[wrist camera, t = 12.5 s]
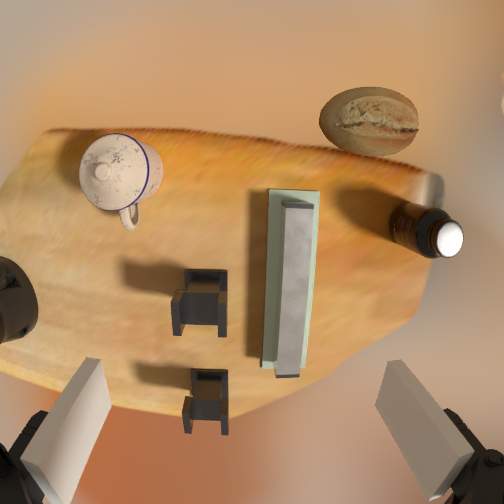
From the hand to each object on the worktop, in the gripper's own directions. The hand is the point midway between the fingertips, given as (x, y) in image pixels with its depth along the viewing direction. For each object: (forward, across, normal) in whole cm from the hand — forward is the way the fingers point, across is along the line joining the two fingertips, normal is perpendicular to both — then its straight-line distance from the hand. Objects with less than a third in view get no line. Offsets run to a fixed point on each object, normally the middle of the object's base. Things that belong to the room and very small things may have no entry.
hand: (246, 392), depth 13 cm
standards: (+32, -4, -16) cm, 36 cm away
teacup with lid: (+33, -14, +8) cm, 37 cm away
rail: (+32, +8, -7) cm, 34 cm away
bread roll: (+33, +18, +18) cm, 41 cm away
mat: (+32, +8, -7) cm, 34 cm away
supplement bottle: (+32, +26, +4) cm, 41 cm away
